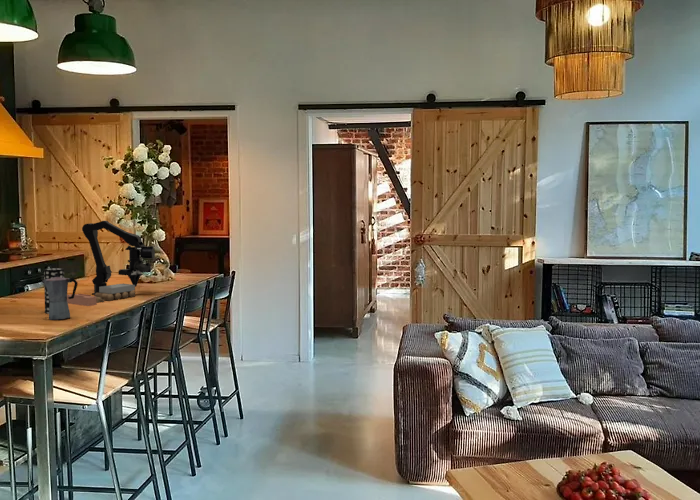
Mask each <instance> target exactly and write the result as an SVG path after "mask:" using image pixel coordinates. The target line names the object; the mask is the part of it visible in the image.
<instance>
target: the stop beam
mask: <svg viewBox="0 0 700 500" xmlns="http://www.w3.org/2000/svg"><path fill="white" fill-rule="evenodd" d="M72 294H73V293H71V294H67V303H68V305H69V304H71V305H78V306H83V307H84V306H86V307H90V306H96V305H97V304H98V303H96V297H95V295H94V296H93V295H91V294H86V293H75V295H74V298H73V299H68V297H71V296H72Z"/></svg>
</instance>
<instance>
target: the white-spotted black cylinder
mask: <svg viewBox="0 0 700 500" xmlns="http://www.w3.org/2000/svg"><path fill="white" fill-rule="evenodd" d="M55 273H58V277H62V278H65V269H64V268H60V267H59V268H58V267H54V268H51V267H50V268H44V270H43V277H44V278H43V280H45V279H50V278H54V277H55ZM43 287H44V291H43V292H44V313H45V314H48V315H49V305H50V301H49V296H48V291H47V288H46V286H45V285H44V284H43Z"/></svg>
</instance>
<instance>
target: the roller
mask: <svg viewBox="0 0 700 500" xmlns="http://www.w3.org/2000/svg"><path fill="white" fill-rule="evenodd" d="M96 303H97V304H98V303H99V304H100V303H102V302H101V298H100V297H96Z"/></svg>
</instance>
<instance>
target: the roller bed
mask: <svg viewBox="0 0 700 500" xmlns="http://www.w3.org/2000/svg"><path fill="white" fill-rule="evenodd" d="M94 296H95V297H100V298H101V302H100V303H105V301H107V302H113V300H116V299H117V301H119V300H120V299H127V298H134V297H135V296H136V290H134V291H127V292H121V293H114V294H108V293H95V295H94ZM118 299H119V300H118Z"/></svg>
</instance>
